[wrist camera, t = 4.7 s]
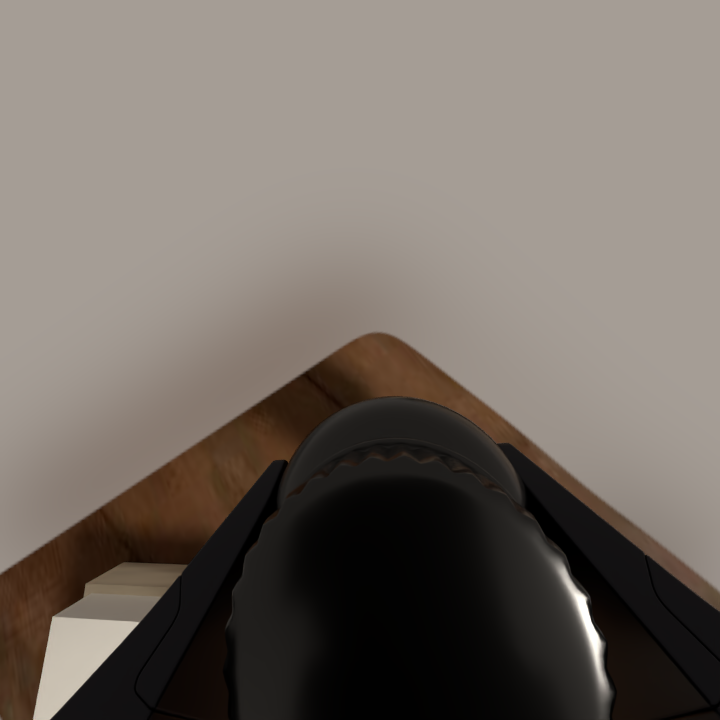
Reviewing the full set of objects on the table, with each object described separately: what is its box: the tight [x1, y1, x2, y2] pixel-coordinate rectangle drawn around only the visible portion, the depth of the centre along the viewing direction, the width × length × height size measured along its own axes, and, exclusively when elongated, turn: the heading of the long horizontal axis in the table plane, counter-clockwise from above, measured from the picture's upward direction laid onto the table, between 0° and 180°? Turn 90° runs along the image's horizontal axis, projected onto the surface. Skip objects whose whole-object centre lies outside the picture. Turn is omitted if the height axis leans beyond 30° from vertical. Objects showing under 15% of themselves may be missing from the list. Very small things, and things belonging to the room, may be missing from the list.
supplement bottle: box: [223, 396, 617, 720], centre depth 9 cm, size 7×7×12 cm
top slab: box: [33, 593, 161, 720], centre depth 14 cm, size 10×10×2 cm
